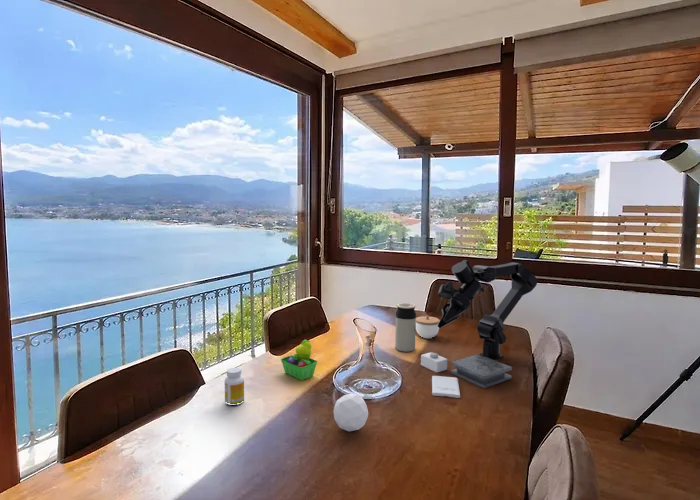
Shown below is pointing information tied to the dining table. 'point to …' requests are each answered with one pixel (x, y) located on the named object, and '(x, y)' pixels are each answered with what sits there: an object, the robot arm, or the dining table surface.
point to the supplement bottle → (234, 386)
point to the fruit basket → (300, 362)
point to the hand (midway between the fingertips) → (441, 324)
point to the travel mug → (405, 327)
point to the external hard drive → (445, 386)
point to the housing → (434, 362)
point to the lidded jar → (427, 326)
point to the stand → (481, 370)
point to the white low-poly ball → (350, 412)
